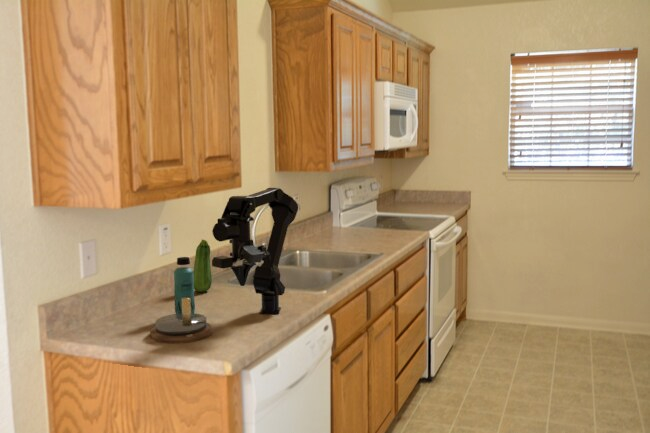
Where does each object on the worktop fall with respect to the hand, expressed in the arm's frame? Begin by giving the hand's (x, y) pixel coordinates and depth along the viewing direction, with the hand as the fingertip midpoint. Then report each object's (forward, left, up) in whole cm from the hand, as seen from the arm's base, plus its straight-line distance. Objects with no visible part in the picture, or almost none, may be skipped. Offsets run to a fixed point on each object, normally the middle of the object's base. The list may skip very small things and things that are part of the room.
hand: (242, 285), depth 211 cm
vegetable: (-41, -22, -12) cm, 48 cm away
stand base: (+11, -17, -12) cm, 24 cm away
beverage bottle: (-6, -20, -12) cm, 24 cm away
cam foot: (+11, -17, -10) cm, 23 cm away
